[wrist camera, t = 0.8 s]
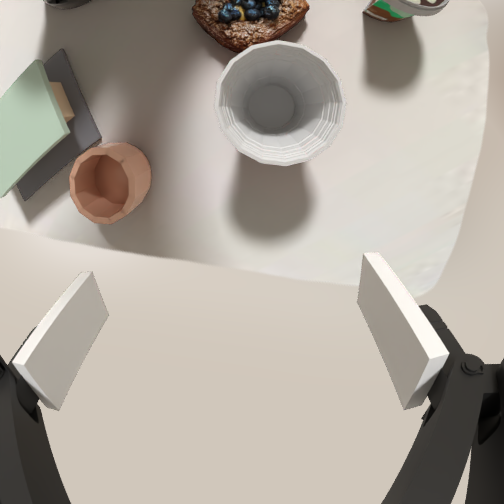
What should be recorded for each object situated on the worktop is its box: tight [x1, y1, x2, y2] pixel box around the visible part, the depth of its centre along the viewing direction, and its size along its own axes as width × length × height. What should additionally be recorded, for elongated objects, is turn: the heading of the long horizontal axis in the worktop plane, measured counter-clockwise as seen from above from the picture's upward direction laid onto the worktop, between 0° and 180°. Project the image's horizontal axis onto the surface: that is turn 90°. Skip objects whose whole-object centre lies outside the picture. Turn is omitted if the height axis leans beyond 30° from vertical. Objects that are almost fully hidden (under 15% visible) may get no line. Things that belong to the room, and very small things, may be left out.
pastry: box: [192, 0, 309, 54], centre depth 23 cm, size 11×12×6 cm
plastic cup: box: [214, 40, 347, 166], centre depth 26 cm, size 11×11×12 cm
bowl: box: [69, 143, 152, 224], centre depth 32 cm, size 9×9×6 cm
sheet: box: [0, 60, 70, 198], centre depth 26 cm, size 12×16×1 cm
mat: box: [16, 49, 102, 201], centre depth 29 cm, size 16×18×5 cm
